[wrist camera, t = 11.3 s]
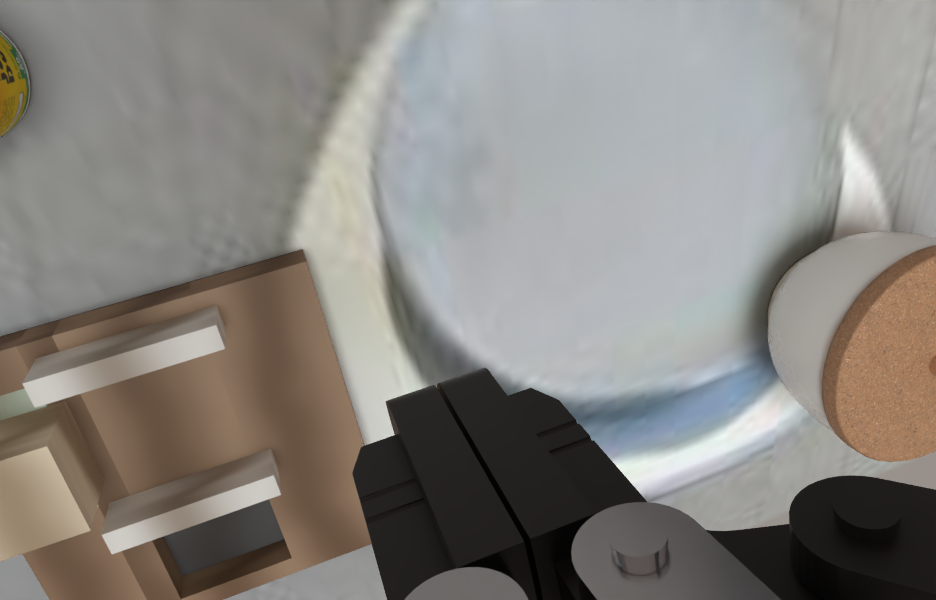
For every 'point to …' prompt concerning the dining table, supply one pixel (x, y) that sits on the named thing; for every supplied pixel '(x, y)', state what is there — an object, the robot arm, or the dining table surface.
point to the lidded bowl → (862, 341)
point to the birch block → (45, 480)
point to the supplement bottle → (12, 85)
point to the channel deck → (198, 436)
